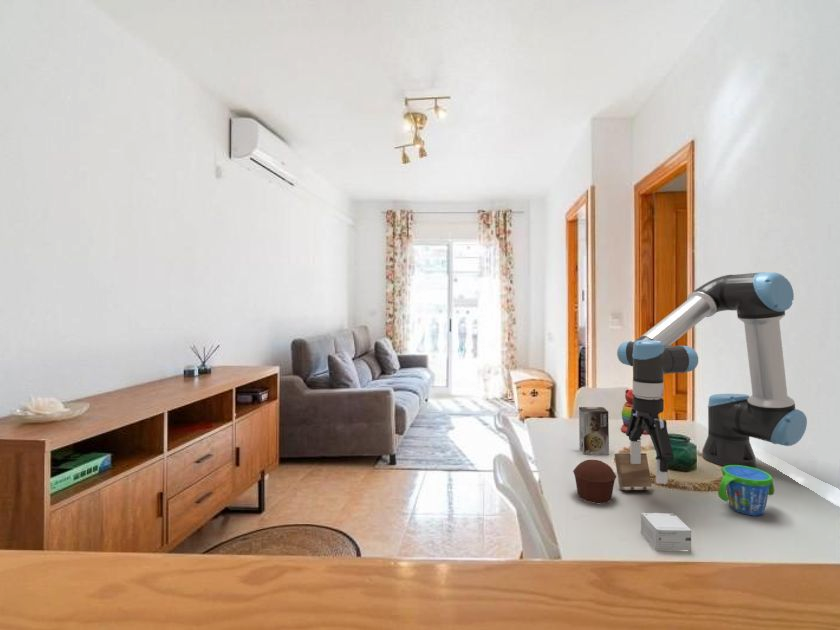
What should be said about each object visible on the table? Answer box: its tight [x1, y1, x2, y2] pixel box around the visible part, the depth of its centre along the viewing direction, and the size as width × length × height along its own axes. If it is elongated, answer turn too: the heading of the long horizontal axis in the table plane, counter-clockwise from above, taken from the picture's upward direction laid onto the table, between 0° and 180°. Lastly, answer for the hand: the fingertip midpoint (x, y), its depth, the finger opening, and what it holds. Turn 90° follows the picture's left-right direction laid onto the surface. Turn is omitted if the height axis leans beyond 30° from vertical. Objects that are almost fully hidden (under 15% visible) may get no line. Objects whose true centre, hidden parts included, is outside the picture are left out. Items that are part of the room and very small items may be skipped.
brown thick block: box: [614, 452, 653, 491], centre depth 127 cm, size 4×8×10 cm, turn 89°
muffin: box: [572, 459, 618, 504], centre depth 122 cm, size 12×11×10 cm
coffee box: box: [578, 406, 610, 455], centre depth 159 cm, size 9×6×16 cm
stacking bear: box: [620, 389, 648, 435], centre depth 184 cm, size 11×10×18 cm
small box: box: [640, 512, 692, 552], centre depth 99 cm, size 8×8×5 cm
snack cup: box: [717, 465, 775, 517], centre depth 113 cm, size 16×10×10 cm
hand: (647, 472), depth 119 cm, fingers open, 13 cm apart
